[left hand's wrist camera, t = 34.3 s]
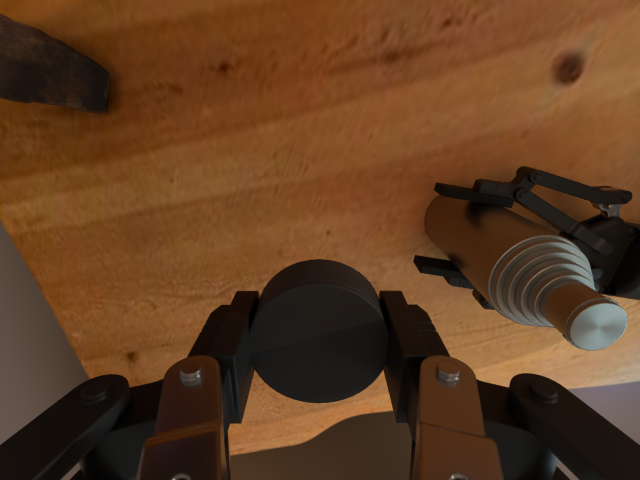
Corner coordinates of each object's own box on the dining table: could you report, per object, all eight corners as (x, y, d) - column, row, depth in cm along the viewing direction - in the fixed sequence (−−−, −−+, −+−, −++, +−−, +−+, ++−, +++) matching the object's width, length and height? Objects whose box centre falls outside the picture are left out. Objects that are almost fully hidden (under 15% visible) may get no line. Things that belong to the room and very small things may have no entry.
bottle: (429, 253, 41) (539, 388, 21) (419, 198, 39) (531, 288, 19) (488, 238, 41) (660, 363, 20) (482, 181, 38) (668, 256, 18)
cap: (400, 333, 13) (413, 369, 11) (298, 381, 13) (294, 422, 12) (343, 236, 11) (347, 258, 10) (233, 294, 12) (218, 325, 10)
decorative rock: (-10, 66, 34) (-148, 47, 24) (0, 2, 32) (-145, -48, 22) (110, 124, 36) (28, 128, 26) (126, 66, 34) (45, 47, 24)
